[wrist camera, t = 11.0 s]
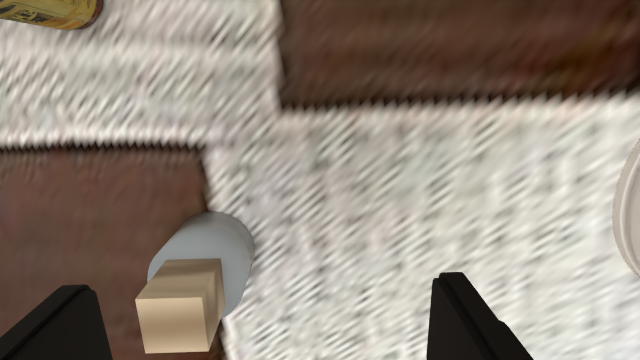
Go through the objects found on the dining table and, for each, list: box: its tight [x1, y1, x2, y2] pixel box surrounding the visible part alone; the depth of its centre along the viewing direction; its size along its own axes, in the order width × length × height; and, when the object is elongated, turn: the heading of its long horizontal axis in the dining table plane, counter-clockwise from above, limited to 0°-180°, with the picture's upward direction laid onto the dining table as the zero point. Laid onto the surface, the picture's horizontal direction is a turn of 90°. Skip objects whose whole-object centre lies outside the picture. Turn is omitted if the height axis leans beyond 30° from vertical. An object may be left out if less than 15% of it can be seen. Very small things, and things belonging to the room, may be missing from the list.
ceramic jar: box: [148, 211, 255, 319], centre depth 36 cm, size 9×9×7 cm
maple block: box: [135, 258, 226, 353], centre depth 30 cm, size 5×5×6 cm
